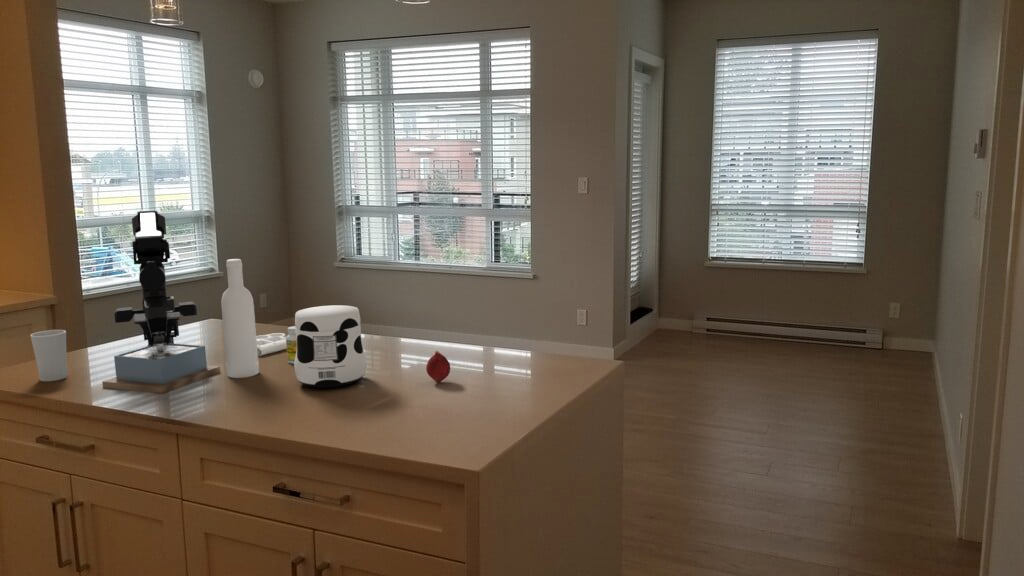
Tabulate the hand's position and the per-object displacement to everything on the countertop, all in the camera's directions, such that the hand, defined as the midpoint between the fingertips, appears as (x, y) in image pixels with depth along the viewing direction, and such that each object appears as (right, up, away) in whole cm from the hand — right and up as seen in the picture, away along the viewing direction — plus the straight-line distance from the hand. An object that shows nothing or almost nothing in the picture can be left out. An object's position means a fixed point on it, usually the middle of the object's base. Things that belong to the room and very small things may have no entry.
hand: (159, 345), depth 200 cm
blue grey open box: (-1, -7, +2) cm, 8 cm away
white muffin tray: (+16, -4, +31) cm, 36 cm away
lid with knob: (0, -2, 0) cm, 2 cm away
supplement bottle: (+31, -6, +16) cm, 35 cm away
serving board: (0, -9, +1) cm, 9 cm away
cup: (-30, -9, +6) cm, 32 cm away
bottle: (+20, -8, +5) cm, 22 cm away
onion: (+72, -9, -8) cm, 73 cm away
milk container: (+45, -9, -5) cm, 46 cm away
